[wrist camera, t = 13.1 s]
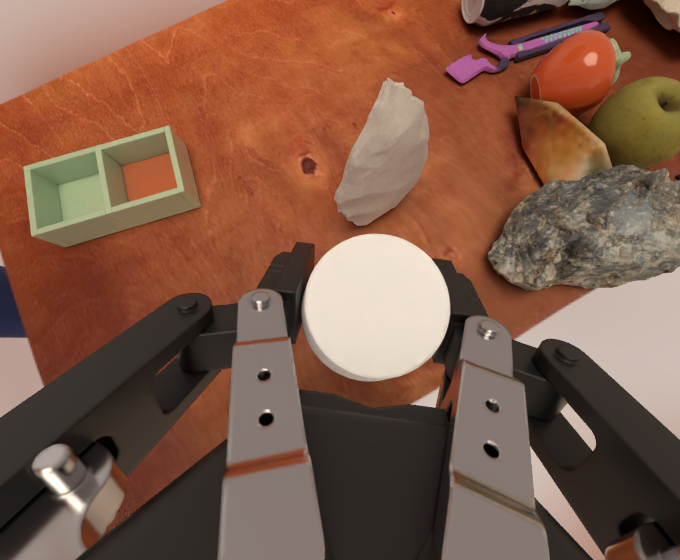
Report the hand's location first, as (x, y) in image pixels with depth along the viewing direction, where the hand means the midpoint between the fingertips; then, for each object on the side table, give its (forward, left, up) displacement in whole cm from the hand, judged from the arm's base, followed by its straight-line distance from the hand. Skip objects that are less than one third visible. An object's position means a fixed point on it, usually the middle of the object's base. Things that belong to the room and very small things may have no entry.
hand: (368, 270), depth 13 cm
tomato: (+26, +16, -15) cm, 34 cm away
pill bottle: (-1, -2, -4) cm, 5 cm away
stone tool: (+5, +10, -18) cm, 21 cm away
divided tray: (-20, +20, -18) cm, 33 cm away
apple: (+31, +8, -17) cm, 37 cm away
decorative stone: (+24, +9, -14) cm, 29 cm away
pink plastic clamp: (+29, +21, -17) cm, 40 cm away
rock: (+20, -4, -12) cm, 24 cm away
